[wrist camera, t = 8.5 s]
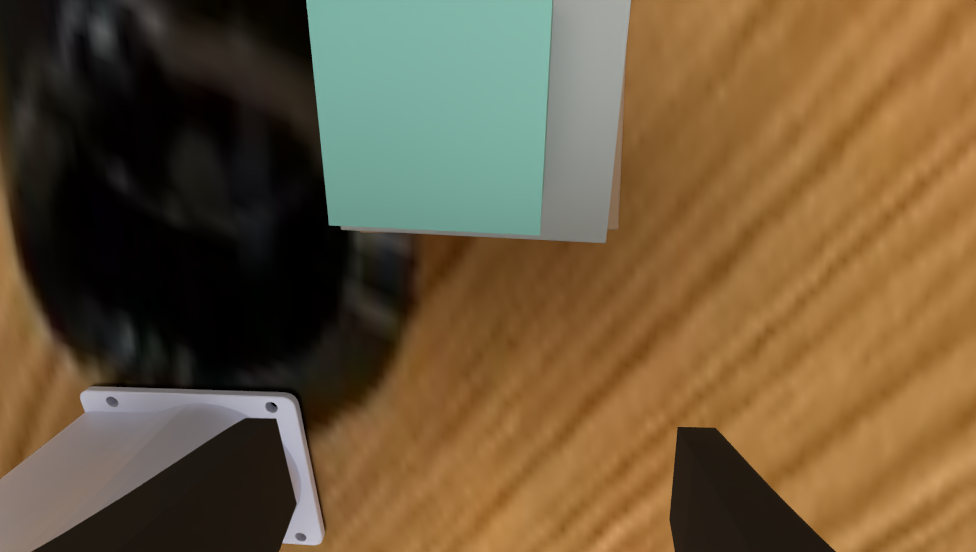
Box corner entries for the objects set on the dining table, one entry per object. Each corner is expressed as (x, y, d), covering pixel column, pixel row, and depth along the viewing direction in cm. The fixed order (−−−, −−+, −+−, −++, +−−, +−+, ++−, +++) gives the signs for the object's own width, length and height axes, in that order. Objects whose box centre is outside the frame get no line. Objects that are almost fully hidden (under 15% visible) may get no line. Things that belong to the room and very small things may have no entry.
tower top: (369, 205, 17) (341, 229, 15) (351, -57, 15) (314, -75, 12) (598, 215, 17) (605, 243, 14) (624, -56, 14) (638, -76, 12)
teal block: (387, 178, 14) (329, 225, 11) (377, 4, 13) (305, -11, 9) (543, 184, 14) (539, 235, 10) (553, 6, 12) (552, -10, 9)
